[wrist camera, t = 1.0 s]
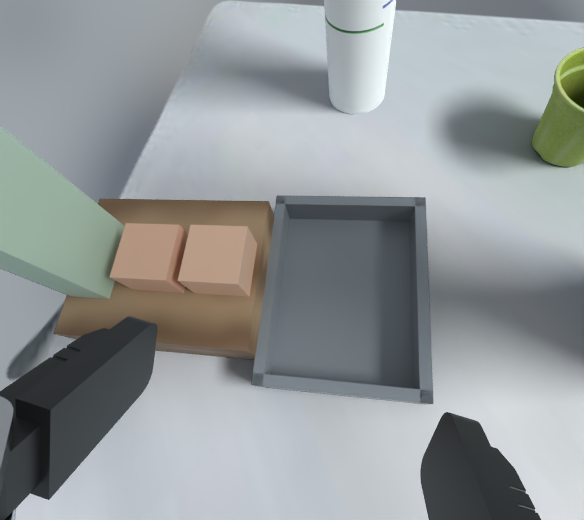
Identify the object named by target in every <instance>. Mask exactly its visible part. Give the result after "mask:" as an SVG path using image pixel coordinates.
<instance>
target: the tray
mask: <svg viewBox="0 0 584 520" xmlns="http://www.w3.org/2000/svg"><path fill="white" fill-rule="evenodd" d="M251 385H254V386H259V387H266V388H276V389H285V390H295V391H304V392H314V393H323V394H333V395H342V396H351V397H361V398H370V399H380V400H389V401H399V402H408V403H417V404H433V382H432V356H431V330H430V304H429V278H428V252H427V226H426V199H425V198H420V197H343V196H277V198H276V206H275V213H274V223H273V230H272V238H271V245H270V252H269V260H268V267H267V274H266V282H265V289H264V296H263V304H262V311H261V319H260V326H259V333H258V341H257V348H256V355H255V360H254V367H253V375H252V382H251Z"/></svg>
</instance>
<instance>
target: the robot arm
mask: <svg viewBox="0 0 584 520" xmlns="http://www.w3.org/2000/svg"><path fill="white" fill-rule="evenodd" d="M156 339H157V325H156V324H155V323H152V322H148V321H145V320H142V319H138V318H135V317H132V316H128V317H126V318H125V319H123V320H122V321H120V322H119V323H118V324H116V325H115V326H114V327H112V328H111V329H107V328H102V329H99V330H96V331H93V332H90V333H87V334H84V335H82V336H81V337H79V338H78V339H77V340H75V341H74V342H72V343H71V344H69V345H68V346H67V348H63V349H62V350H60V351H59V352H57V353H56V354H54V356H53V358H49V359H47V360H46V361H44V362H43V363H41V364H40V365H38V366H37V367H35V368H34V369H32V370H31V371H29V372H28V373H27V374H25V375H24V376H22V377H21V378H19V379H18V380H16V381H15V382H13V383H12V384H10V385H9V386H7V387H6V388H4V389H3V390H2V391H0V520H15V517H16V508H17V506H18V505H19V504H20V503H21V502H22V501H23V500H24V499H25V498H26V497H27V496H28V495H29V494H30V493H31V494H34V495H37V496H39V497H42V498H45V499H48V500H49V499H50V498H51V497H52V496H53V495H54V494H55V492H56V491H57V490H58V489H59V488H60V487H61V486H62V484H63V483H64V482H65V481H66V480H67V479H68V478H69V476H70V475H71V474H72V473H73V472H74V471H75V469H76V468H77V467H78V466H79V465H80V464H81V463H82V461H83V460H84V459H85V458H86V457H87V456H88V455H89V453H90V452H91V451H92V450H93V449H94V448H95V447H96V445H97V444H98V443H99V442H100V441H101V440H102V438H103V437H104V436H105V435H106V434H107V433H108V432H109V430H110V429H111V428H112V427H113V426H114V425H115V424H116V422H117V421H118V420H119V419H120V418H121V417H122V415H123V414H124V413H125V412H126V411H127V410H128V409H129V407H130V406H131V405H132V404H133V403H134V402H135V401H136V399H137V398H138V397H139V396H140V395H141V394H142V392H143V391H144V390H145V388H146V386H147V384H148V382H149V380H150V377H151V374H152V370H153V363H154V355H155V347H156ZM421 484H422V489H423V494H424V499H425V503H426V508H427V513H428V518H429V520H541V519H540V517H539V515H538V513H535V507H534V505H533V503H532V501H531V499H530V497H529V495H528V494H526V493H525V491H526V490H525V488H524V486H523V484H522V482H521V480H520V478H519V476H518V474H517V472H516V470H515V469H514V467H513V466H512V465H511V464H510V463H509V462H508V461H507V459H506V458H505V457H504V456H503V455H502V454H501V452H500V451H499V450H498V449H497V448H493V447H491V446H490V444H489V441H488V439H487V437H486V435H485V433H484V431H483V429H482V427H481V425H480V423H479V422H477V421H475V420H472V419H468V418H465V417H462V416H458V415H455V414H452V413H448V412H446V413H444V414H443V416H442V417H441V419H440V421H439V423H438V426H437V428H436V430H435V432H434V434H433V436H432V439H431V441H430V443H429V445H428V447H427V449H426V452H425V454H424V456H423V459H422V464H421Z"/></svg>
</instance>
